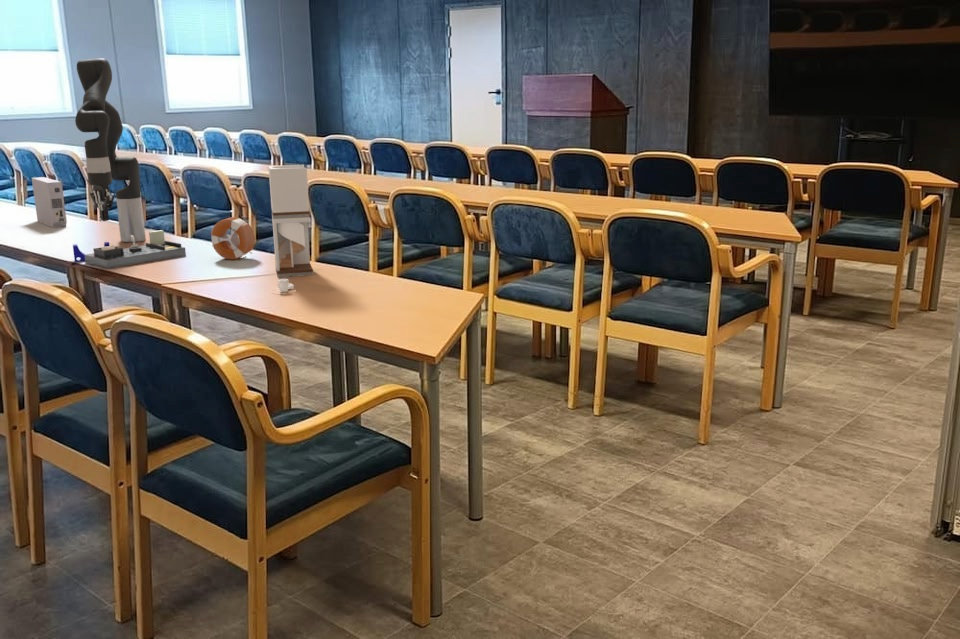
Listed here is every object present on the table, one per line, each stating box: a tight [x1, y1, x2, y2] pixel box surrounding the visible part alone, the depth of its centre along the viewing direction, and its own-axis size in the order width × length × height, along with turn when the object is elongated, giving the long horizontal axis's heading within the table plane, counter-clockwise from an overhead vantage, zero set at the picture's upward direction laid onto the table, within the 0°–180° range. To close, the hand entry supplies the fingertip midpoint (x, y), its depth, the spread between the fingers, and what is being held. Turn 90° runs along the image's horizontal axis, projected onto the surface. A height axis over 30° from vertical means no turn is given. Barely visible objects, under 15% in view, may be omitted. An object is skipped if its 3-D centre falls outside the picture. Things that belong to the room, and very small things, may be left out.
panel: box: [84, 240, 187, 270], centre depth 320 cm, size 16×30×6 cm, turn 139°
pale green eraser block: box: [148, 229, 166, 245], centre depth 330 cm, size 2×5×5 cm, turn 139°
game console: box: [31, 176, 68, 228], centre depth 398 cm, size 6×27×20 cm, turn 40°
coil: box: [210, 215, 256, 260], centre depth 318 cm, size 7×15×15 cm, turn 78°
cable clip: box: [72, 241, 111, 263], centre depth 321 cm, size 12×4×6 cm, turn 115°
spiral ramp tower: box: [268, 164, 314, 278], centre depth 291 cm, size 11×11×35 cm
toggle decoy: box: [130, 235, 140, 248], centre depth 320 cm, size 1×2×5 cm, turn 139°
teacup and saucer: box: [277, 278, 295, 293], centre depth 270 cm, size 9×8×4 cm
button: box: [100, 245, 115, 250], centre depth 312 cm, size 4×4×3 cm
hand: (105, 220), depth 310 cm, fingers closed
